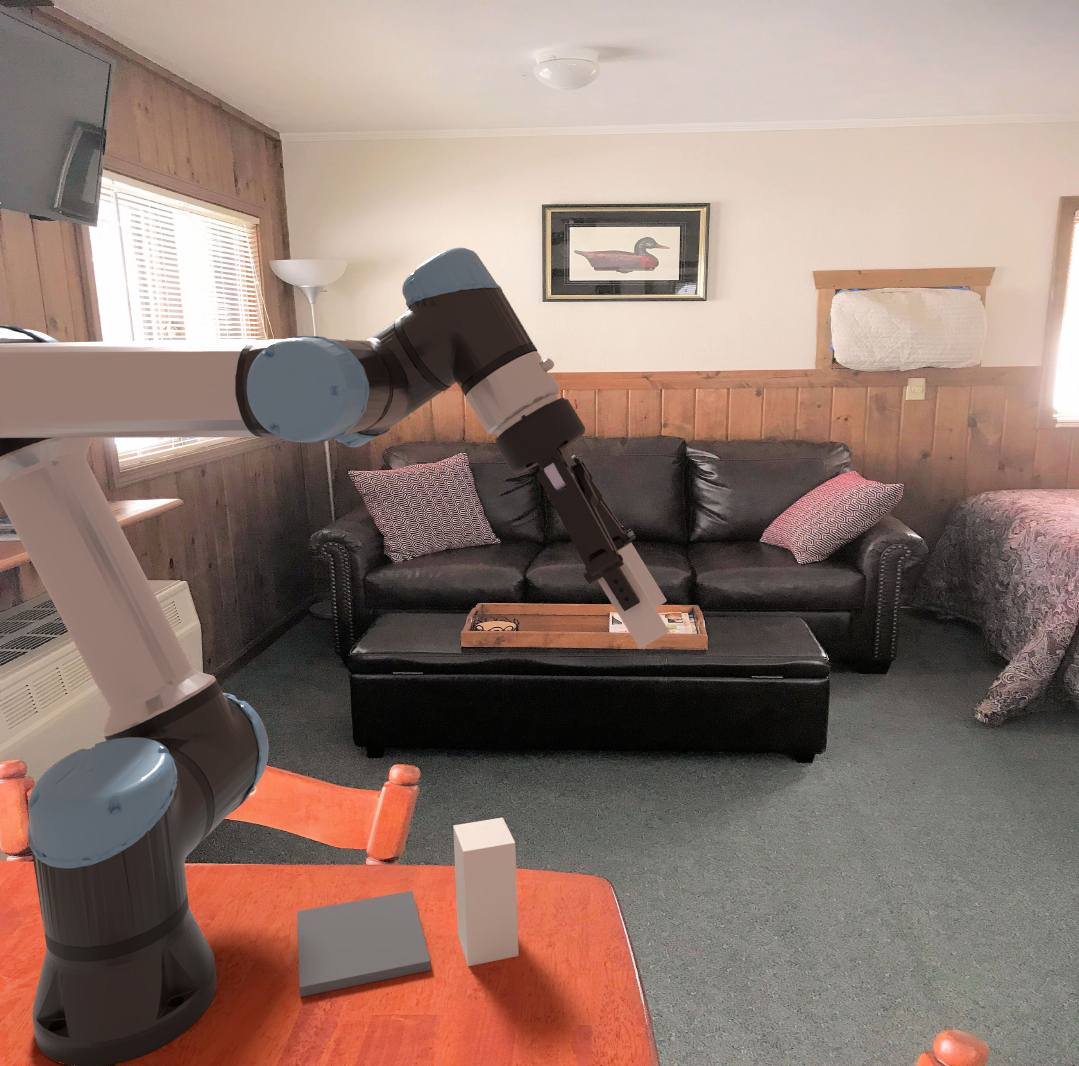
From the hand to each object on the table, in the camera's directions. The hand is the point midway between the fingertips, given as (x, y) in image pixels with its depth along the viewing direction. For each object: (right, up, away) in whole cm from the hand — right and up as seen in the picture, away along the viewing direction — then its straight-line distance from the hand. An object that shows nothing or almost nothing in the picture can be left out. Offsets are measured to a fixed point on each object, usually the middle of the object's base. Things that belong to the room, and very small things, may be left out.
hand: (654, 622), depth 79 cm
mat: (-28, -33, +10) cm, 44 cm away
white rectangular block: (-15, -33, +10) cm, 37 cm away
